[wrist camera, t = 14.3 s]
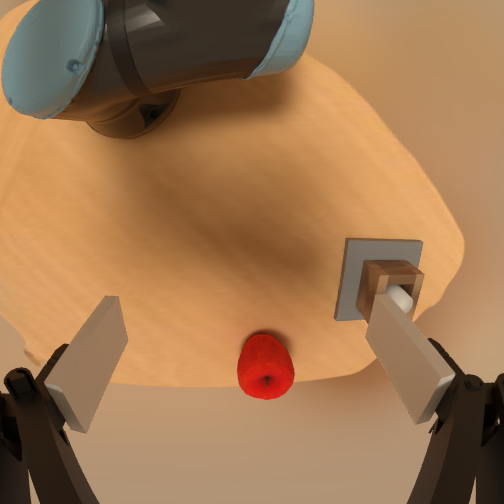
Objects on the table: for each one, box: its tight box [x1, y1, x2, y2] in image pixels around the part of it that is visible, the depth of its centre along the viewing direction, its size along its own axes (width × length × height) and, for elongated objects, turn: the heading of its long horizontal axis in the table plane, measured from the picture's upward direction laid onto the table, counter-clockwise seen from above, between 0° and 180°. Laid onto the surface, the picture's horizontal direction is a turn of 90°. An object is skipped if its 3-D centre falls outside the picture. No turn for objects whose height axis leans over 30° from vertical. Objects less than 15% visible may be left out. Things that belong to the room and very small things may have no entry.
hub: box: [356, 260, 424, 324], centre depth 42 cm, size 8×8×6 cm
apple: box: [237, 334, 295, 400], centre depth 44 cm, size 9×9×11 cm
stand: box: [334, 238, 423, 321], centre depth 42 cm, size 14×14×9 cm
